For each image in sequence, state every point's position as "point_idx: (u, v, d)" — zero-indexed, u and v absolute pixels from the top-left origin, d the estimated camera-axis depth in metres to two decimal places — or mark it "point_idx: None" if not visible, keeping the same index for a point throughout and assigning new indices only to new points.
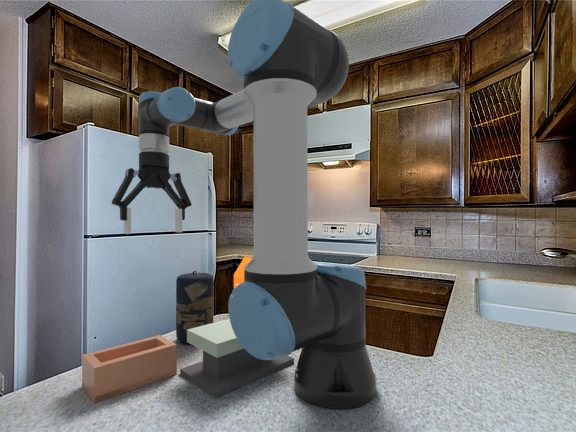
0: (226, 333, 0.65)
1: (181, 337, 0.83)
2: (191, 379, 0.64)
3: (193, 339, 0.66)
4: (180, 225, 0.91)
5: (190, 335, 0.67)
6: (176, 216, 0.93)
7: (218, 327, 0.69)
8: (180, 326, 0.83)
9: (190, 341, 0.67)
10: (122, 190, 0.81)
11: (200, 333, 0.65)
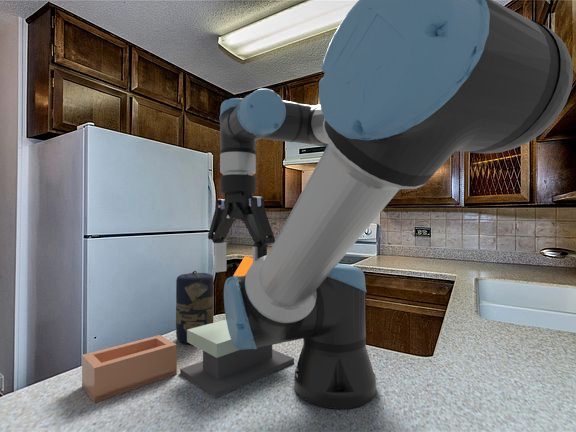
0: (226, 333, 0.65)
1: (181, 337, 0.83)
2: (191, 379, 0.64)
3: (193, 339, 0.66)
4: None
5: (190, 335, 0.67)
6: None
7: (218, 327, 0.69)
8: (180, 326, 0.83)
9: (190, 341, 0.67)
10: (212, 224, 0.75)
11: (200, 333, 0.65)
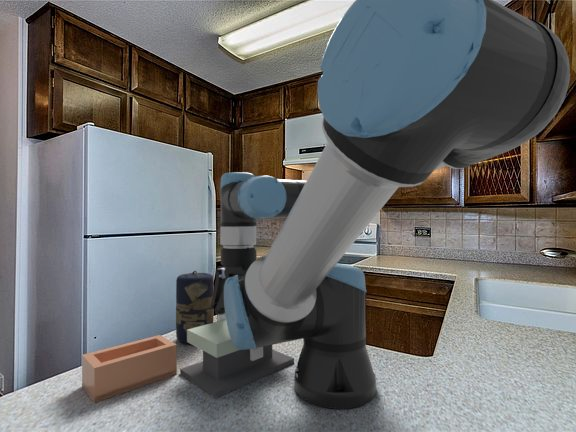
0: (226, 333, 0.65)
1: (181, 337, 0.83)
2: (191, 379, 0.64)
3: (193, 339, 0.66)
4: (251, 350, 0.65)
5: (190, 334, 0.67)
6: None
7: (218, 327, 0.69)
8: (180, 326, 0.83)
9: (190, 341, 0.67)
10: (213, 294, 0.75)
11: (200, 333, 0.65)
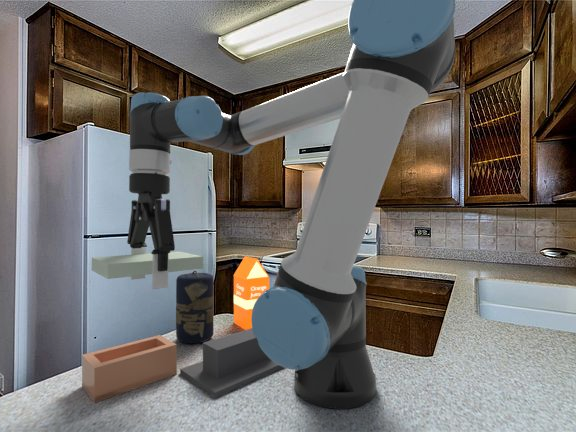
0: (128, 259, 0.62)
1: (181, 337, 0.83)
2: (191, 379, 0.64)
3: (95, 265, 0.63)
4: (153, 279, 0.61)
5: (93, 262, 0.63)
6: None
7: (126, 257, 0.66)
8: (180, 326, 0.83)
9: (93, 268, 0.63)
10: (129, 227, 0.71)
11: (101, 259, 0.62)
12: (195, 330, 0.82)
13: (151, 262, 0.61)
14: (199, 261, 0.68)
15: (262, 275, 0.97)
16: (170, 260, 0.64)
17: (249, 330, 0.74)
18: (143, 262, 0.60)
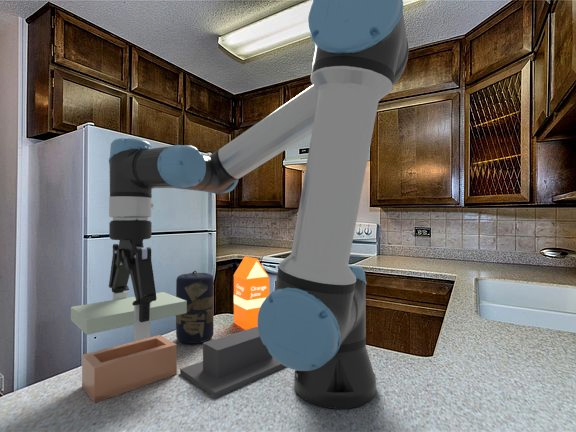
0: (108, 310, 0.60)
1: (181, 337, 0.83)
2: (191, 379, 0.64)
3: (74, 316, 0.61)
4: (134, 329, 0.60)
5: (72, 312, 0.62)
6: None
7: (106, 305, 0.64)
8: (180, 326, 0.83)
9: (72, 319, 0.62)
10: (111, 271, 0.70)
11: (81, 310, 0.60)
12: (195, 330, 0.82)
13: (132, 312, 0.60)
14: (182, 306, 0.67)
15: (262, 275, 0.97)
16: (152, 308, 0.63)
17: (249, 330, 0.74)
18: (124, 313, 0.59)
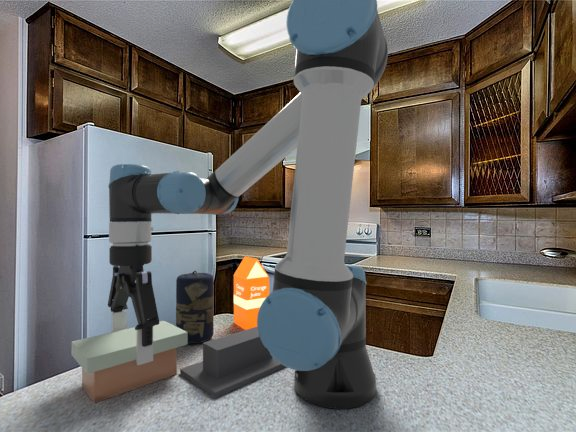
0: (109, 345, 0.60)
1: None
2: (191, 379, 0.64)
3: (74, 352, 0.61)
4: (137, 354, 0.59)
5: (73, 347, 0.62)
6: None
7: (107, 338, 0.64)
8: (180, 326, 0.83)
9: (73, 354, 0.62)
10: (110, 291, 0.70)
11: (81, 346, 0.60)
12: (195, 330, 0.82)
13: (133, 348, 0.60)
14: (183, 337, 0.67)
15: (262, 275, 0.97)
16: (153, 342, 0.63)
17: (249, 330, 0.74)
18: (124, 349, 0.59)
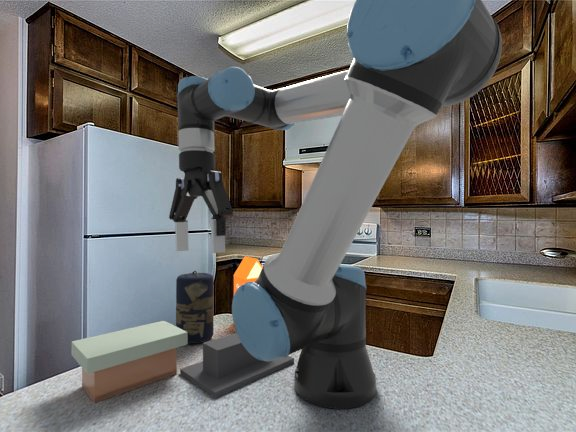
0: (109, 345, 0.60)
1: None
2: (191, 379, 0.64)
3: (74, 352, 0.61)
4: (212, 243, 0.65)
5: (73, 347, 0.62)
6: None
7: (107, 338, 0.64)
8: (180, 326, 0.83)
9: (73, 354, 0.62)
10: (172, 204, 0.75)
11: (81, 346, 0.60)
12: (195, 330, 0.82)
13: (133, 348, 0.60)
14: (183, 337, 0.67)
15: None
16: (153, 342, 0.63)
17: None
18: (124, 349, 0.59)
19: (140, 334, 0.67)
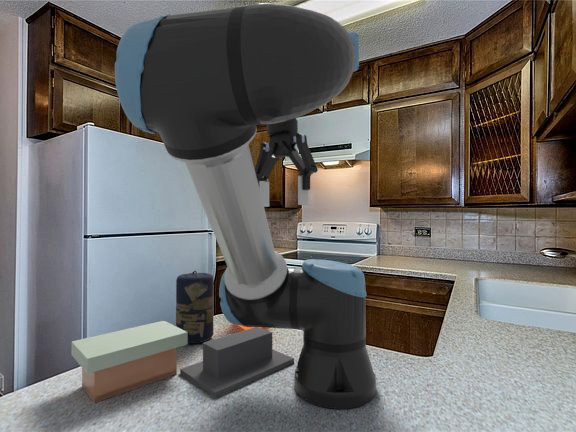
0: (109, 345, 0.60)
1: None
2: (191, 379, 0.64)
3: (74, 352, 0.61)
4: (298, 196, 0.75)
5: (73, 347, 0.62)
6: None
7: (107, 338, 0.64)
8: (180, 326, 0.83)
9: (73, 354, 0.62)
10: (256, 165, 0.86)
11: (81, 346, 0.60)
12: (195, 330, 0.82)
13: (133, 348, 0.60)
14: (183, 337, 0.67)
15: None
16: (153, 342, 0.63)
17: (249, 330, 0.74)
18: (124, 349, 0.59)
19: (140, 334, 0.67)
